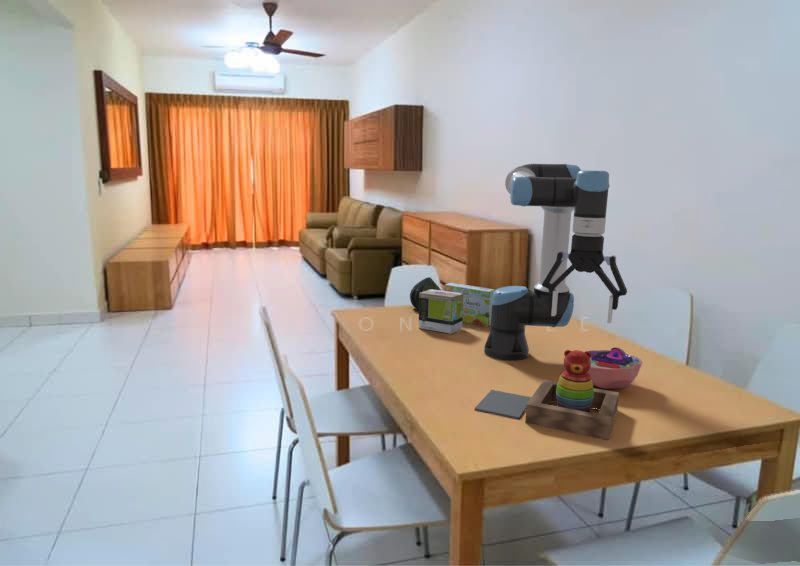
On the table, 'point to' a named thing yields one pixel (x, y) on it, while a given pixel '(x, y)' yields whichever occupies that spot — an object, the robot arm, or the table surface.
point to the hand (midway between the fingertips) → (581, 318)
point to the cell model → (613, 368)
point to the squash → (421, 290)
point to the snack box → (474, 303)
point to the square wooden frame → (572, 412)
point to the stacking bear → (575, 382)
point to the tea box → (441, 311)
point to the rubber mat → (503, 404)
